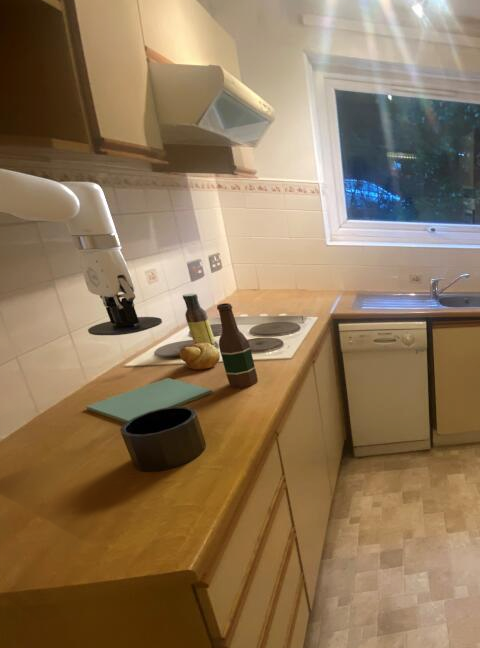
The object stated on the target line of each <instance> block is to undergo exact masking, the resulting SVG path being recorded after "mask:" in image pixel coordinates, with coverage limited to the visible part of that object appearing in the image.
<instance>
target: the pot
mask: <svg viewBox="0 0 480 648" xmlns="http://www.w3.org/2000/svg"><path fill="white" fill-rule="evenodd" d="M201 426H202V425H201V423H200V420H199V417H198V414H197V412H196V409H195V408H192V407H189V406H179V407H169V408H162V409H158V410H154V411H150V412H147V413H145V414H142V415H140V416H137V417H135V418H133V419H131V420H129V421H128V422H126V423H125V422H124V424H123V425H122V426H121V427H120V429H119V430H120V434H121V437H122V440H123V442H124V444H125V448H126V450H127V452H128V454H129V457H130V459H131V462H132V465H133V467H134V469H136V470H137V471H139V472H145V473H157V472H162V471H167V470H171V469H175V468H178V467H180V466H183V465H186V464H188V463H190V462H192V461H194V460H195V459H197V458H198V457H200V456H201V455H202V454H203V453H204V452H205V450H206V448H207V443H206V440H205V436H204V434H203V433H204V432H203V430H202V427H201Z"/></svg>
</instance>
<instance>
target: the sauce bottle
mask: <svg viewBox="0 0 480 648" xmlns="http://www.w3.org/2000/svg"><path fill="white" fill-rule="evenodd" d="M198 298H199V297H198V293H195V292H193V293H192V292H191V293H185V294H183V295H182V299H183V300H184V303H185V306H186V311H185V313H184V315H185V316H184V317H185V320H186V323H187V326H188V329H189V333H190V336H191V339H192V341H193V345H194V344H197V343H209V344H211V345H214V346H216V347H217V345H216V340H215V336H214V333H213V330H212V327H211V324H210V320H209V317H208V314H207V312H206V310H205V309H203V308H202V307H201V305H200V302H199V299H198Z"/></svg>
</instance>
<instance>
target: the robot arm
mask: <svg viewBox="0 0 480 648" xmlns="http://www.w3.org/2000/svg"><path fill="white" fill-rule="evenodd" d="M108 205H109V204H108V203H107V200H106V196H105V193H104V190H103V188H102V187H101V186H100V185H99V184H98V183H95V182H91V181H56V180H53V179H49V178H45V177H40V176H36V175H32V174H28V173H23V172H19V171H14V170H9V169H5V168H0V213H4V214H10V215H12V216H14V217H17V218H19V219H23V220H25V221H26V220H27V221H34V222H55V223H56V222H57V223H61V222H65V224H66V228H67V229H68V232H69V235H70V238H71V241H72V243H73V246H74V248H75V251H76V252H77V254H78V255H77V256H78V260H79V265H80V268H81V270H82V275H83V278H84V281H85V284H86V288H87V290H88V292H90V294H93V295H97V296H99V298H100V299H101V301H102V304H103V306H104V307H105V311H106V313H107V315H108V318H109V320H110V321H111V323H112V324H115V322H114V319H113V316H112V313H111V310H110V308H109V306H112V305H116V304H117V307H118V308H119V309H116V310H117V312H118V315H119V318H120V321H121V324H122V326H129V325H133V324H137V323H139V320H138V317H139V316H138V315H137V312H136V308H135V303H134V300H135V299H136V294H135V291H136V287H135V283H134V281H133V277H132V275H131V271H130V270H129V267H128V264H127V262H126V260H125V258H124V256H123V254H122V252H121V250H122V249H123V248H122V244H121V242H120V238H119V236H118V233H117V229H116V227H115V223H114V220H113V217H112V214H111V211H110V208H109V206H108ZM119 293H120V294H119Z"/></svg>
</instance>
